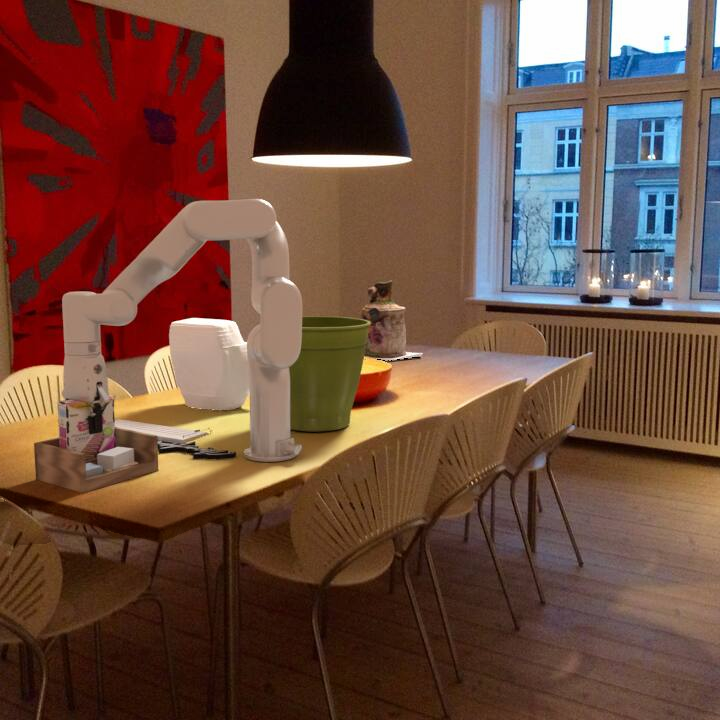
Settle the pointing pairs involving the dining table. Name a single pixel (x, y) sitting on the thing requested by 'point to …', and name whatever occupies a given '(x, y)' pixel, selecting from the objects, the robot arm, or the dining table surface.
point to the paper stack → (210, 363)
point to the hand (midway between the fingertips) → (86, 430)
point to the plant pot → (326, 372)
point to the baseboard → (162, 431)
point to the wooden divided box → (71, 465)
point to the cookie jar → (385, 325)
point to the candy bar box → (85, 428)
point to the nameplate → (193, 450)
